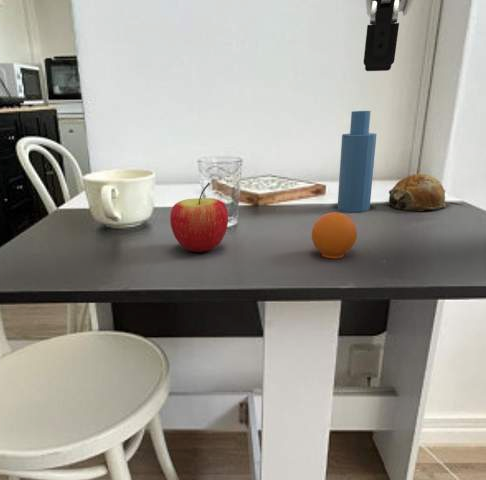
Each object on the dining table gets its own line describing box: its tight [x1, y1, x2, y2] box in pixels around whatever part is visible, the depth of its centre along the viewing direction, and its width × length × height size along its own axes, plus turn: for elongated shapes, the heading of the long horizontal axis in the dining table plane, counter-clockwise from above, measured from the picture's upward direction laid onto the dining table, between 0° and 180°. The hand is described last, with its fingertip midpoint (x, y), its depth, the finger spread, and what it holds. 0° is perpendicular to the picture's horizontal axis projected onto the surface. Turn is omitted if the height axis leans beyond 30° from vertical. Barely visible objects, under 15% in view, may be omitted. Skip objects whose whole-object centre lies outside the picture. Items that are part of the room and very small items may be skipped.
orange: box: [311, 211, 358, 260], centre depth 60 cm, size 6×6×6 cm
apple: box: [169, 182, 229, 253], centre depth 64 cm, size 8×8×10 cm
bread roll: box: [388, 173, 447, 212], centre depth 85 cm, size 10×10×8 cm
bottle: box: [337, 110, 377, 213], centre depth 83 cm, size 6×6×18 cm
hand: (377, 68), depth 53 cm, fingers open, 9 cm apart
